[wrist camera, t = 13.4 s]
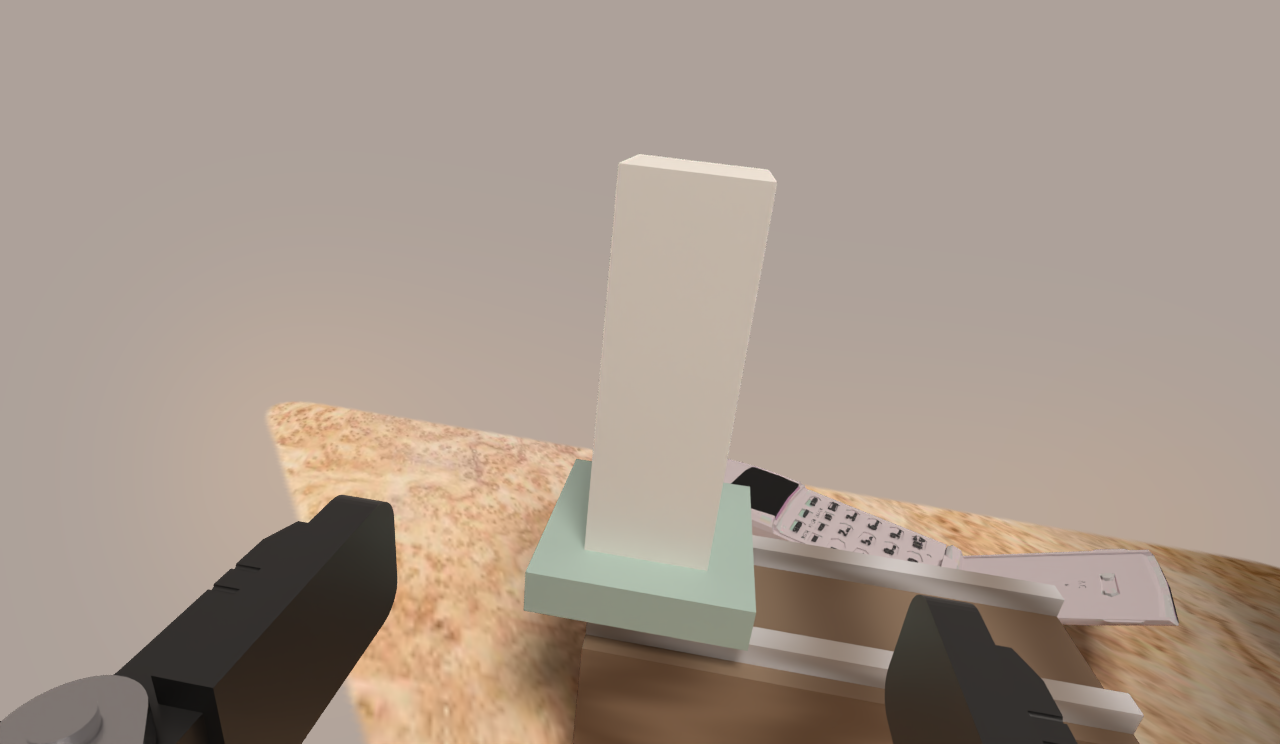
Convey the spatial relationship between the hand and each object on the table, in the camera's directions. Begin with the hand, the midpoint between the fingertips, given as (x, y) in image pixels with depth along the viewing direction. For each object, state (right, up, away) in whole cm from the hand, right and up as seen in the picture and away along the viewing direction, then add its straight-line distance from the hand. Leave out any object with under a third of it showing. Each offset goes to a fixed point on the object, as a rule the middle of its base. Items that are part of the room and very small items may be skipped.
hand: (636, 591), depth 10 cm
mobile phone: (+11, -8, +25) cm, 29 cm away
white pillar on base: (0, -3, +13) cm, 14 cm away
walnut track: (+6, -11, +15) cm, 20 cm away
